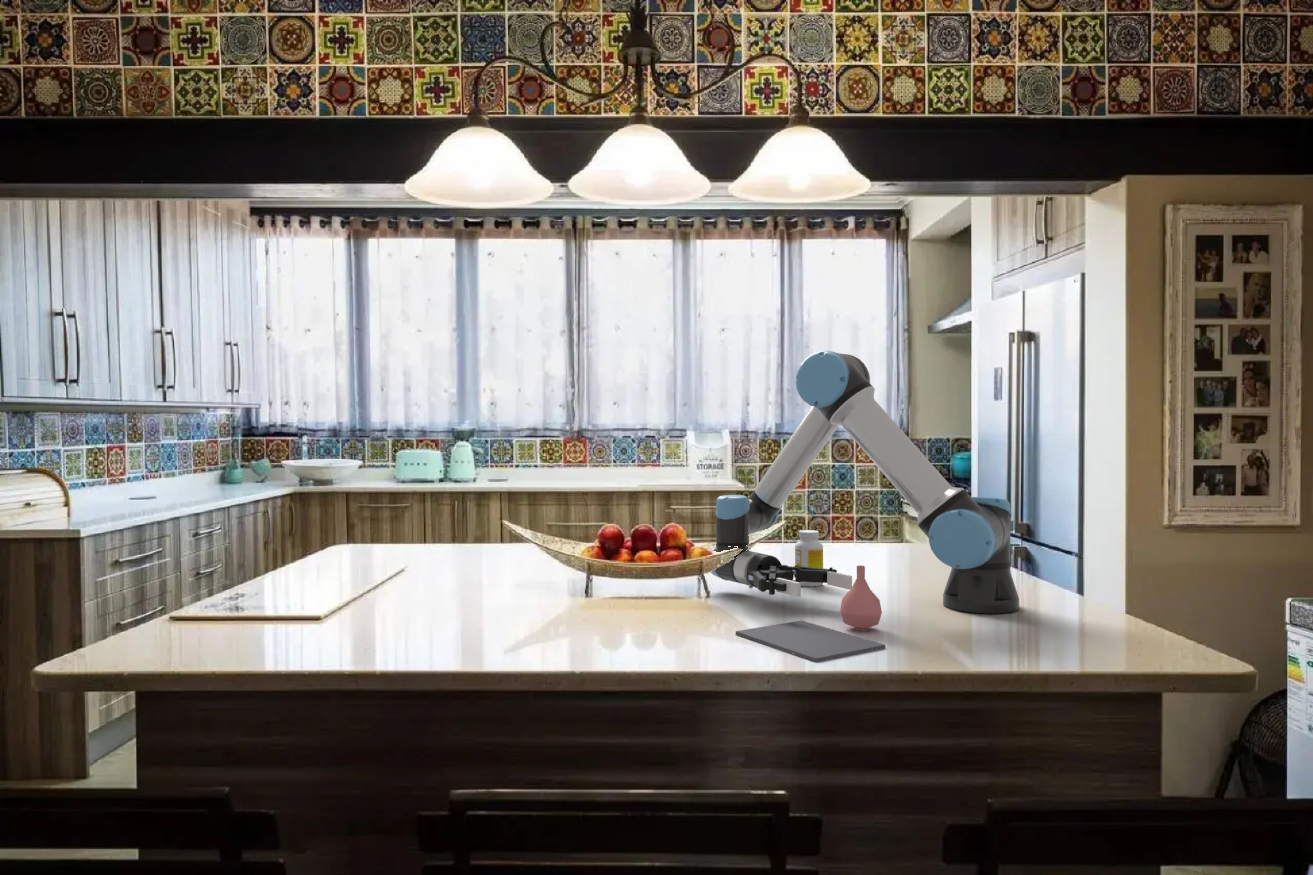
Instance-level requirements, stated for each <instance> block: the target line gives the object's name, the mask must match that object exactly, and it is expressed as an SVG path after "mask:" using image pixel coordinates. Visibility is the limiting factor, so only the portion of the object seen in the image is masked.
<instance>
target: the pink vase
mask: <svg viewBox="0 0 1313 875" xmlns="http://www.w3.org/2000/svg"><path fill="white" fill-rule="evenodd" d="M839 611H840V615H841V618H842V621H843V624H844V625H848V626H850V627H851V628H853V629H854V630H855V631H861V632H862V631H863V632H864V631H867V630H868V629H869V628H871V627H875V626H877V625H879V623H880V619H881V616H882V607H881V601H880V599H879V598H878V596H877V595H876V594H875V593H874V592H873V590H871V588H870V587H869V584H868V582H867V580H866V566H865V565H856V579H855V580H854V582H853V583H852V588H851V589H850V590H849V591H847V593H846V594H845V595H844V596H843V597H842V598H841V602H840V608H839Z"/></svg>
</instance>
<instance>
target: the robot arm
mask: <svg viewBox="0 0 1313 875" xmlns="http://www.w3.org/2000/svg"><path fill="white" fill-rule="evenodd" d="M795 387H796V391H797V393H798V395H799V396H800V398H801V399H802V401H803V402H804V403H806V404H807V405H809V406H811V407H810V409H809V410H808V411H807V413H806V415H805V416H804V418H803V419H802V420H801V421H800V423H799V424H798V426H797V427H796V429H795V430H794V432H793V433H792V434H791V436H790V438H789V439H788V440H787V442H786V443H785V445H784V447H782V449H781V451H779V454H778V455H777V457H776V458H775V459H774V460H773V462H772V464H771V465H770V467H769V468H768V470H767V471H766V472H765V474H764V475H763V476H762V478H761V480H760V481H759V483H758V484H757V485H756V487H755V488H754V490H753V492H752V493H751V494H750V495H749V497H747V496H746V495H744V494H743V495H741V494H728V495H727V494H725V495H724V494H723V495H720V496H718V497H717V498H716V505H715V546H714V547H712V548H711V550H712V551H716V552H721V551H723V550H730V549H733V548H737V547H734V546H738V548H741V549H743V550H742V551H741V552H740V553H739V554H738V555H736V556H734V558H735V559H734V560H731V561H730V562H729V563H726V564H725V565H723V566H721V567H719V568H717V569H716V570H714V571H712V572H710V574H712V575H713V576H714V577H717V578H719V579H720V580H721V579H722V580H724V581H726V582H727V581H729V582H732V583H733V582H734V583H738V584H741V585H745V586H748V588H749V589H753V588H755V589H757V590H759V591H760V592H761V593H763V592H766V591H768V595H772V596H773V595H776V592H777V593H781V594H784V595H788V596H792V597H796V598H801V597H802V595H801V591H802V590H801V587H802V586H801V583H799V582H818V583H823V584H826V585H827V586H832V587H837V588H841V589H845V590H849V591H850V590H851V588H852V586H853V576H852V575H849V574H845V573H841V572H839V573H838V570H837V569H835V568H834V567H831V566H830V567H829V568H824V567H823V568H812V567H803V566H798V565H796V566H795V565H794V566H792V565H791V566H790V565H789V566H788V565H786V564H782V562H781V561H780V560H779V559H778V558H777V557H776V556H774V555H770V554H767V553H766V554H765V553H761V552H758V551H757V552H756V551H751V550H750V549H749V550H747V549H748V547H746V545H748V544H749V545H750V534H752V533H756V532H761V531H765V529H766V530H767V529H769V528H771V527H772V526H774V525H775V523H777V522H778V518H779V511H780V509H781V508H782V506H783V504H785V502H786V501H787V499H788V498H789V497H790V495H791V494H792V492H793V491H794V489H796V487H797V485H798V484H799V483H800V481H801V480H802V478H803V477H804V476H805V474H806V473H807V471H808V470H809V468H810V467H811V466H812V464H813V463H814V462H815V460H816V459H817V457H818V456H819V455H820V453H821V452H822V450H823V448H825V446H826V444H828V442H829V440H830V439H831V437H832V436H833V435H834V433H835V432H836V430H837V429H838V427H840V426H842V427H843V429H844V430H845V431H846V432H847V434H848V435H850V436H851V438H852V439H853V441H855V442H856V444H857V445H858V446H859V447H860V449H862V451H863V452H864V453H865V454H866V455H867V457H868V458H870V460H871V461H872V462H873V463H874V465H875V466H876V467H877V468H878V469H879V470H880V472H881V473H882V474H883V475H884V476H885V477H886V479H887V480H888V481H889V482H890V484H892V486H893V487H894V488H895V489H896V490H897V492H898V493H899V494H900V495H901V497H903V498H904V499H905V501H906V502H907V503H908V504H909V505H910V507H911V508H913V510H914V511H915V512H916V514H917V520H916V521H917V523H916V524H917V526H918V527H919V529H921V531H922V532H923V533H924V535H925V536H926V537H927V538H928V543H929V547H930V550H931V552H932V554H934V556H935V557H936V558H937V559H938V560H939V561H940V562H941V563H943V564H944V565H946V566H949V568H950V567H951V570H950V572H949V574H948V575H949V576H948V578H947V581H946V584H945V587H944V590H943V594H942V604H943V606H944V607H947V608H949V609H951V610H954V611H961V612H965V613H975V614H1009V613H1014V612H1017V611H1018V610H1019V609H1020V597H1019V593H1018V591H1017V587H1016V584H1015V581H1014V578H1013V576H1012V572H1011V517H1012V515H1013V514H1012V511H1011V503H1010V502H1009V500H1007V499H1006V498H998V497H981V496H971V495H970V494H969V493H968V491H967V490H965V488H964V487H955V486H952V485H951V484H950V483H949V482H948V481H947V479H946V478H944V476H943V475H942V474H941V473H940V472H939V471H938V469H937V468H936V467H935V465H933V464H932V463H931V462H930V461H929V459H928V458H927V457H926V456H925V454H924V453H922V452H921V450H920V449H919V448H918V447H917V446H916V445H915V443H913V441H912V440H911V439H910V438H909V437H908V436H907V434H905V432H904V431H903V430H902V429H901V428H900V427H899V425H897V423H896V422H895V420H893V419H892V418H891V417H890V415H889V414H888V413H887V412H886V411H885V409H883V407H882V406H881V405H880V404H879V403H878V402H877V401H876V399H875V387H874V386H873V385H872V384H871V375H870V372H869V370H868V367H867V365H866V364H865V363H864V362H863V361H862V360H861V359H860V358H858V357H857V356H854V355H852V354H846V353H842V352H841V353H839V352H835V351H833V350H822V351H818V352H817V351H816V352H814V353H812V354H810V355H808V356H807V357H806V358H805V359H804V360H802V362H801V363H800V365H799V367H798V370H797V372H796V376H795ZM748 535H749V536H748ZM728 546H731V547H728ZM746 550H747V551H746ZM737 556H738V557H737ZM736 557H737V558H736ZM795 577H796V580H795Z"/></svg>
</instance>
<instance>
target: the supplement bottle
mask: <svg viewBox="0 0 1313 875" xmlns="http://www.w3.org/2000/svg"><path fill="white" fill-rule="evenodd" d="M819 533H820V532H819V530H813V529H803V530H798V538H799V540H798V541H797V542H796V543H795V545H794V566H796V565H798V566H803V567H812V568H823V569H824V545H823V543H822V542H820V541H819V536H820V534H819ZM794 580H796V577H794ZM799 583H801V587H806V586H809V587H810V588H813V587H814V586H816V587H821V586H822V585H823V584H824V583H818V582H799ZM814 588H815V587H814Z"/></svg>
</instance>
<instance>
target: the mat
mask: <svg viewBox="0 0 1313 875" xmlns="http://www.w3.org/2000/svg"><path fill="white" fill-rule="evenodd" d="M735 635H736V636H738V637H742V636H744V637H746V638H745V639H747V638H748V640H750V639H751V641H753V640H755V641H754V642H756V641H757V643H760V644H762V645H765V644H766V645H765V646H768V645H769V647H771V648H774V649H776V648H778V649H777V650H779V649H780V651H782V650H783V651H782V652H785V653H788V654H791V653H794V654H796V655H795V656H797V655H798V656H797V657H800V656H801V657H800V658H803V657H805V658H807V659H806V660H808V659H809V661H811V660H812V662H814V661H815V662H814V663H817V661H818V662H823V661H827V660H832V659H837V658H842V657H848V656H854V655H858V654H863V653H868V652H873V651H878V650H883V649H886V644H884V643H881V642H877V641H873V640H870V639H867V638H863V637H860V636H857V635H853V634H849V633H846V632H843V631H839V630H836V629H832V628H830V627H827V626H826V627H825V626H822V625H819V624H815V623H813V622H808V621H805V620H802V619H800V620H795V621H791V622H790V621H789V622H783V623H778V624H771V625H766V626H759V627H758V626H757V627H754V628H747V629H741V630H736V631H735ZM744 637H743V638H744ZM794 654H793V655H794ZM805 658H804V659H805Z"/></svg>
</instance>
